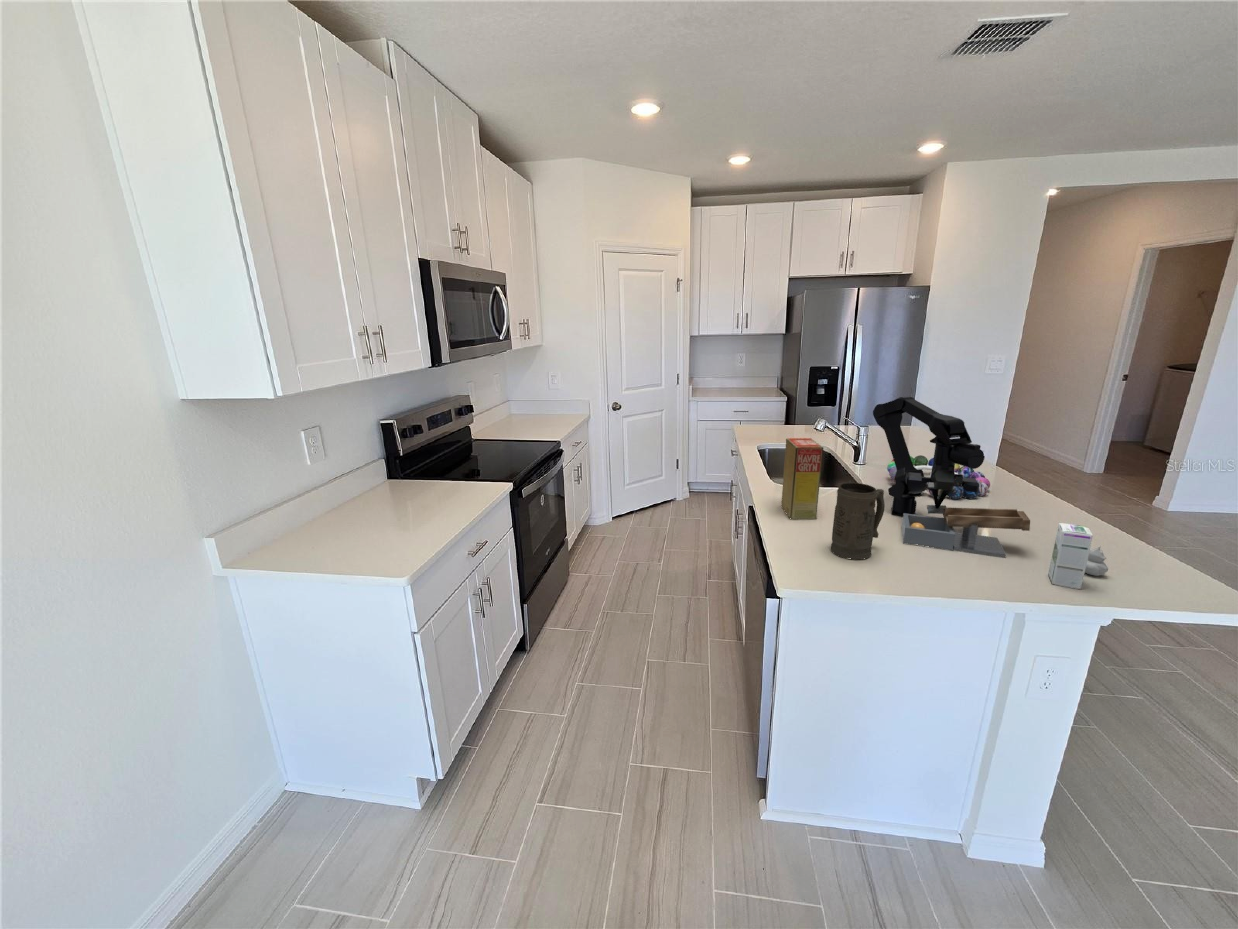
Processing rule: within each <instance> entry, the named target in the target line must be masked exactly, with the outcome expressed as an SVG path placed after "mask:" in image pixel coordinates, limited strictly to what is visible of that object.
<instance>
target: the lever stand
mask: <svg viewBox="0 0 1238 929" xmlns="http://www.w3.org/2000/svg"><path fill="white" fill-rule="evenodd" d="M978 530H979V528H978V524H971V525H970V527H962V532H956V531H954V532H955V540H954V546H953V551H954V550H955V551H956V552H961V551H964V552H963V553H968V552H969V553H970V554H976V555H984V556H989V557H991V556H992V557H998V558H1002V559H1003V558H1005V559H1006V558H1007V554H1006V552H1005V549H1004V548H1003V546H1002V544H1001V542H1000V540H999V538H998V537H995V536H988V535H987V536H986V535H979V534H978ZM969 553H968V554H969Z"/></svg>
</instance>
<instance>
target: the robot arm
mask: <svg viewBox="0 0 1238 929" xmlns="http://www.w3.org/2000/svg"><path fill="white" fill-rule="evenodd" d="M903 414H908V415H909V416H911V417H913V418H915V419H916V420H918V421H919V422H921V423H923V424H925V425H926V426H927V427H928V430H929V431H930V433H931V434H933V435H934V437H933V438H931V439H930V440H929V442H930V443H932V444H935V447H934V452H933V458H934V459H933V465H932V470H931V471H930V473H931V478H930V476H925V474H924V471H923V470H922V469H919V470H917V469H916V468H915V466H913V463H912V460H911V457H912V456H911V454H910V451H909V449H908V446H907V443H906V439H905V437H904V434H903V430H902V427H901V425H902V422H903ZM872 416H873V418H874V420H875V422H876V424H877V425H878V426H879V427H880V428H881V429H882V430H883V431H884V433H885V436H886V440H887V443H888V446H889V450H890V453H891V456H892V460H893V459H894V462H895V465H896V469H897V471H896V475H895V480H894V484H893V485H892V486H891V487H889V488H888V489H887V490H888V496H890V497H892V504H891V507H890V509H891V510H890V514H891V515H893V516H900V517H903V513H906V514H914V515H916V511H917V503H918V502H917V500H916V498H918V497H919V498H920V497H921V496H922V494H923V492H925V491H924V489H925V487H927V489H926V490H928V491H929V490H931V492H932V494H933V495H932V497H933V502H934V505H935V507H936V508H939V507H940V505H941V504H943V502H944V500H945V498H946V497H948V496H947V495H948V494H949V493H950V492H955V489H954V487H958V486H959V487H963V489H964V490H965V491H969V492H978V491H979V483H978V481H977V480H976V479H975V478H966V477H963V475H961V474H958V473H957V474H955V473H954V468H955V464H959V466H961V467H963V466H965V467H969V468H972V469H973V470H976V469H978V468H980V467H981V466H982V464H983V463H984V461H985V458H986V457H985V455H984V451H983V450H981V444H974V443H972V439H971V436H970V434H969V432H968V430H967V427H966V425H965V421H964V420H963V419H961V418H959V417H956V416H954V415H949V414H948V415H947V414H942V413H939V412H938V411H936V410H934V409H932V408H931V407H929V406H927V405H925V404H923V403H922V402H920V401H918V400H916V399H915V398H914V397H913V396H910V395H909V396H900V397H898V398H896V399H894V400H890V401H888V402H885V403H879V404H876V405H875V406H874V408H873V410H872ZM910 456H911V457H910ZM938 490H940V493H939V497H938Z"/></svg>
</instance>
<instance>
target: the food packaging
mask: <svg viewBox="0 0 1238 929" xmlns="http://www.w3.org/2000/svg"><path fill="white" fill-rule="evenodd" d="M823 457H824V446H822V445H821V444H819V443H818V442H816V441H815V440H814V439H812V438H811V437H810V438H809V437H805V438H804V437H802V438H801V437H798V438H796V437H790V438H788V437H787V438H785V450H784V466H783V475H782V476H783V477H782V491H781V504H780V506H782V507H783V508H782V507H781V508H782V510H783V509H784V510H785V511H784V510H783V511H784V513H785V512H786V513H787V514H786V513H785V514H786V516H787V515H788V516H787V517H788V518H789V517H790V518H791V519H790V518H789V519H790V520H817V519H818V518H817V515H818V503H819V494H820V484H821V474H822V466H823Z"/></svg>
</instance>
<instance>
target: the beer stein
mask: <svg viewBox="0 0 1238 929" xmlns="http://www.w3.org/2000/svg"><path fill="white" fill-rule="evenodd" d="M836 494H837V496H836V504H835V507H834V514H833V515H834V516H833V522H832V523H833V524H832V532H831V544H830V551H831V552H832V553H833V552H834V553H835V554H834V553H833V554H834V555H836V556H838V555H839V556H838V557H840V556H841V558H843V557H844V558H843V559H846V558H851V559H850V560H853V559H862V560H865V559H864V558H867V559H869V558H870V557H871V556H872V545H873V539H875V538H876V539H877V538H879V532H878V527H879V524H880V523H881V522H882V519H883V516H884V513H885V498H884V494H885V490H884V489H883V488H882V489H881V488H880V489H879V488H875V487H874V486H872V485H868V484H866V483H865V484H864V483H860V482H859V483H858V482H843V483H841V484H838V488H837V490H836ZM875 509H876V510H875Z"/></svg>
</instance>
